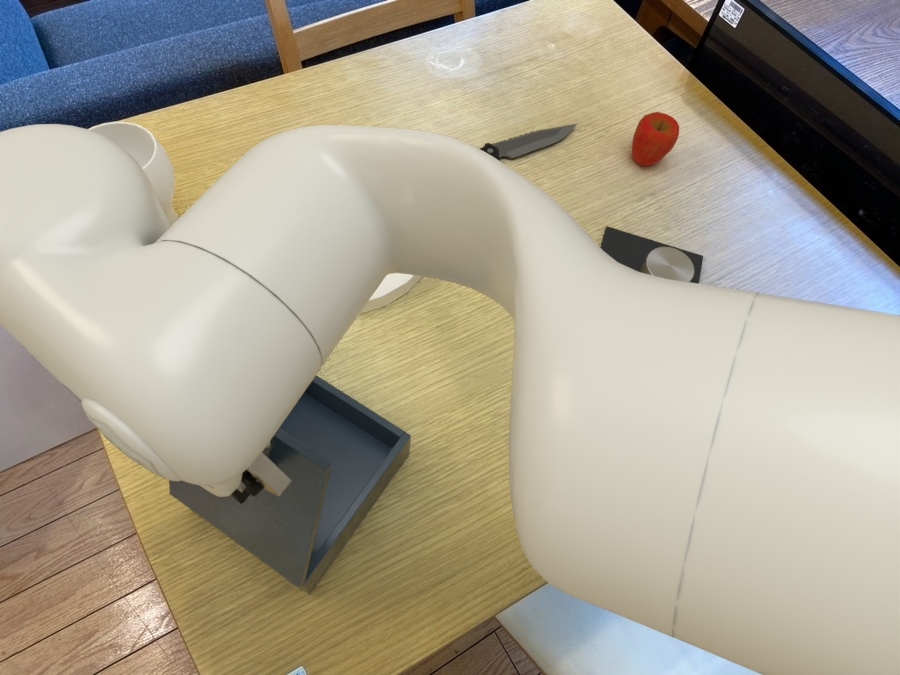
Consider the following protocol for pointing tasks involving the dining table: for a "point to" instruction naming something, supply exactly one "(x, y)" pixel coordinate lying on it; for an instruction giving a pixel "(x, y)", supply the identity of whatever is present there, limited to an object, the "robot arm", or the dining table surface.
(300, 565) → the lid
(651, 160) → the apple
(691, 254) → the mat
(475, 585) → the dining table surface
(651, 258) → the brushed metal cylinder
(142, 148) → the cup
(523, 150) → the knife
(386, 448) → the dark blue-grey open box
